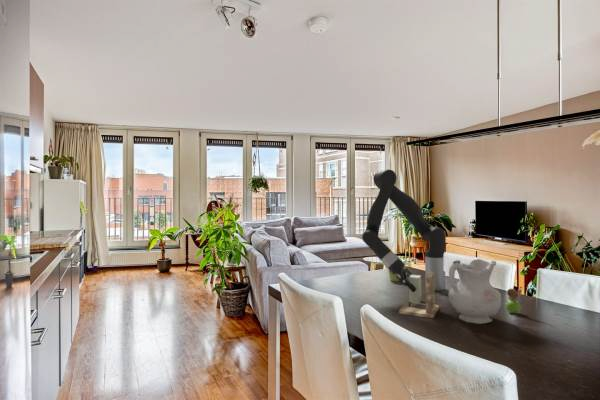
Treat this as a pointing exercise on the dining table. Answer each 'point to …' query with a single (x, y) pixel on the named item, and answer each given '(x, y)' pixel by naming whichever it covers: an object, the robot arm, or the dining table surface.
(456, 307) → the ceramic pitcher
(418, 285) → the pale green block
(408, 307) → the hinge base
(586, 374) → the dining table surface
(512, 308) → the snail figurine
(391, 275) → the plant pot
